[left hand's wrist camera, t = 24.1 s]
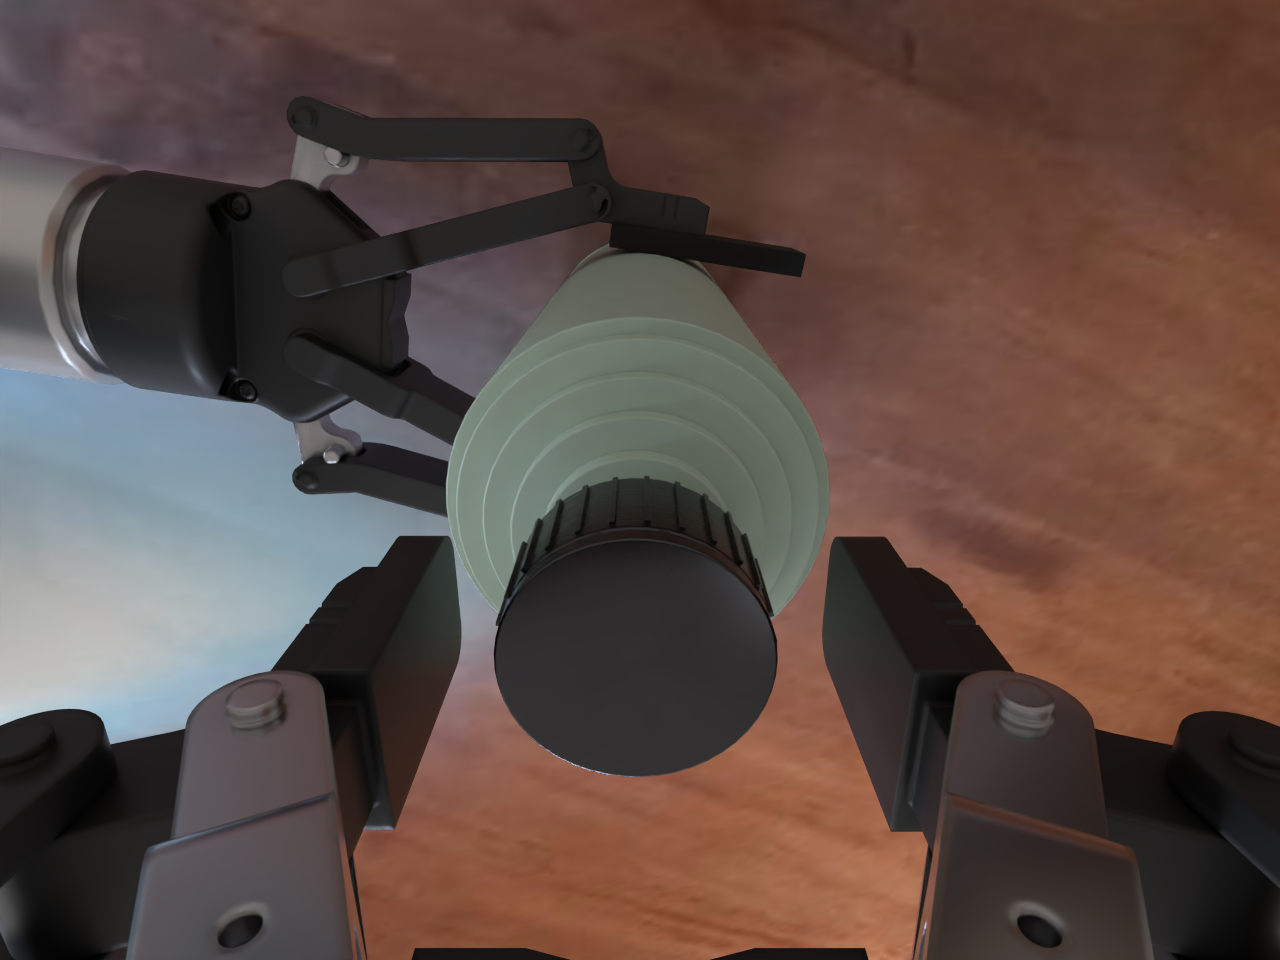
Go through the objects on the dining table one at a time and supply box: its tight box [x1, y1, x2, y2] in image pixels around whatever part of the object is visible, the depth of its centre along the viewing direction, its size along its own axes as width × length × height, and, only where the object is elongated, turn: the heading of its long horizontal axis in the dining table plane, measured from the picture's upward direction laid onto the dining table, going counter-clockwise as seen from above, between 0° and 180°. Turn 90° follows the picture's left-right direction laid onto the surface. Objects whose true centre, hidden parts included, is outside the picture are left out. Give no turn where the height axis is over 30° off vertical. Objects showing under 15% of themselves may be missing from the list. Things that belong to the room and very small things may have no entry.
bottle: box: [446, 244, 830, 620], centre depth 22 cm, size 8×8×24 cm
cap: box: [494, 476, 778, 777], centre depth 11 cm, size 4×4×2 cm
